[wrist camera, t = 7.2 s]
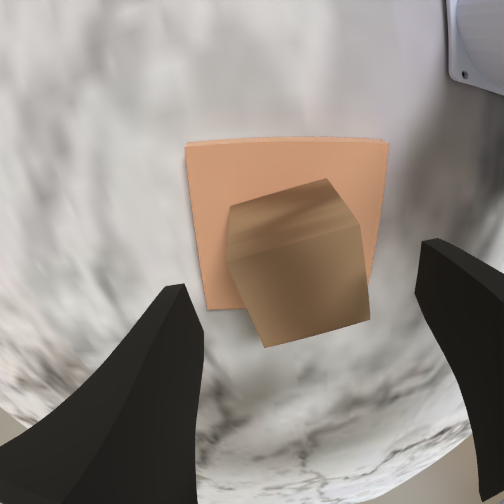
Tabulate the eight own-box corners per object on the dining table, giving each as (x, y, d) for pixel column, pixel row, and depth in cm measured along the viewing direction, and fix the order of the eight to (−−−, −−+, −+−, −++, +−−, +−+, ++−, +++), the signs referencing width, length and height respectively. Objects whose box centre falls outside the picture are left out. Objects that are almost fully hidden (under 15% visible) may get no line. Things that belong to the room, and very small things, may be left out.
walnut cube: (326, 178, 15) (359, 224, 11) (343, 258, 18) (370, 319, 13) (230, 205, 16) (225, 261, 11) (259, 282, 18) (264, 348, 14)
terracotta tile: (381, 139, 15) (389, 143, 14) (360, 290, 20) (364, 299, 19) (187, 142, 15) (184, 147, 14) (208, 299, 20) (207, 309, 19)
